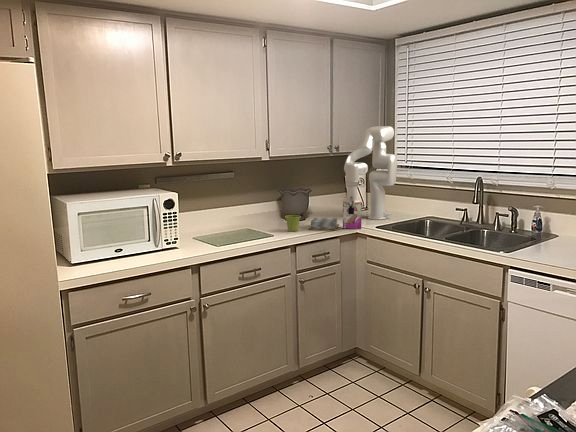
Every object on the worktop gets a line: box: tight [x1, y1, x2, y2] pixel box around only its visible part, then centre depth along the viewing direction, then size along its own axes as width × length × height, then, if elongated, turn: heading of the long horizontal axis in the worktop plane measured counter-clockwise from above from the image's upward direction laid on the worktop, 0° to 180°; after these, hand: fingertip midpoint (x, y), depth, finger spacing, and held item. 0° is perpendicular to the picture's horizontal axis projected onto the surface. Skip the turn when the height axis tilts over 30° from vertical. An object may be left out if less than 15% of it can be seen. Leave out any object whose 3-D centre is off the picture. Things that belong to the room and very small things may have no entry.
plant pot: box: [284, 214, 302, 232], centre depth 289 cm, size 9×9×9 cm
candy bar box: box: [342, 200, 363, 230], centre depth 291 cm, size 11×5×16 cm, turn 84°
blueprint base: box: [308, 217, 340, 231], centre depth 296 cm, size 16×16×5 cm
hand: (352, 212), depth 291 cm, fingers open, 9 cm apart
